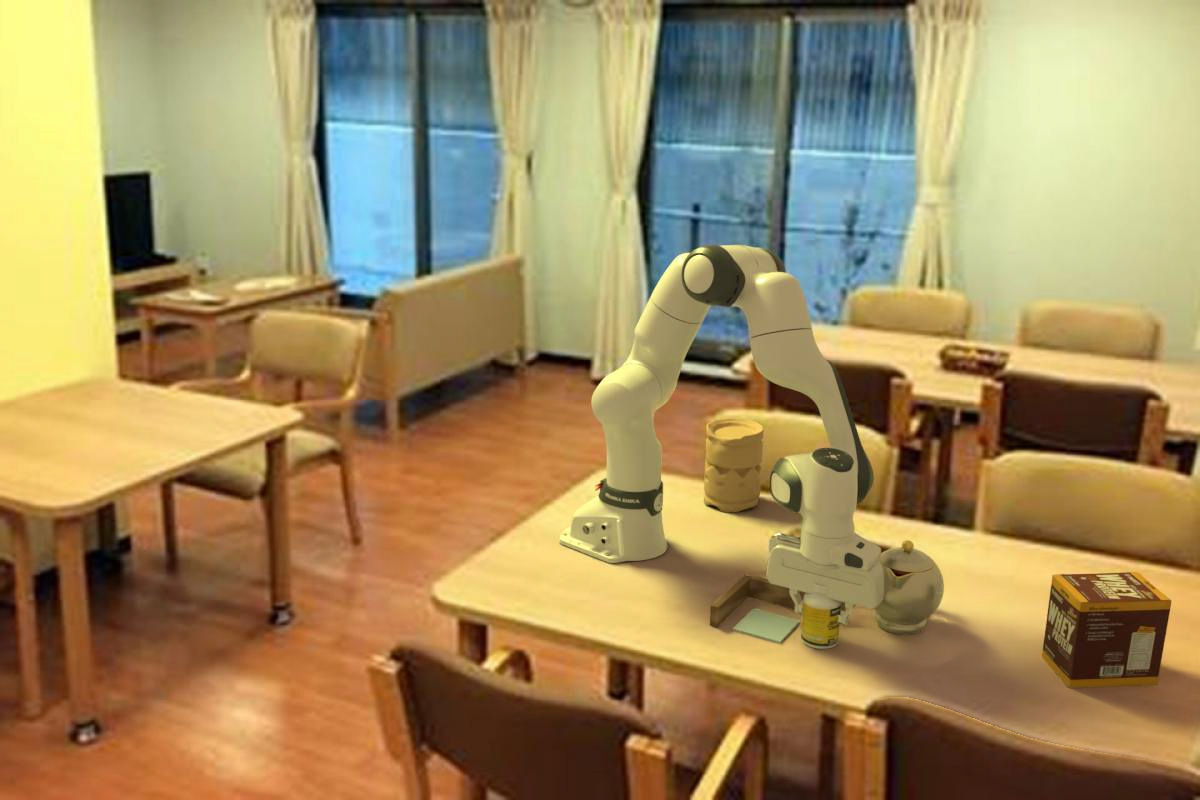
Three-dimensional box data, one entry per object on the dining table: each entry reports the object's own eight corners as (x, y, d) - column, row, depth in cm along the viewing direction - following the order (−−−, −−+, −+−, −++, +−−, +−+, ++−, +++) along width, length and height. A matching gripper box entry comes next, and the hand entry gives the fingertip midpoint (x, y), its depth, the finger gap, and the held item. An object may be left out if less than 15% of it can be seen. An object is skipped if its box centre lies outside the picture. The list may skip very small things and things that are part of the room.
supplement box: (1039, 656, 201) (1051, 573, 197) (1126, 653, 203) (1139, 570, 198) (1067, 688, 192) (1080, 601, 187) (1158, 685, 193) (1173, 599, 188)
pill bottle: (822, 654, 201) (827, 592, 198) (792, 640, 206) (796, 579, 202) (846, 642, 205) (850, 581, 202) (816, 628, 210) (820, 569, 207)
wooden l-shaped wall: (709, 625, 211) (710, 605, 209) (745, 592, 223) (746, 573, 222) (814, 655, 201) (815, 633, 200) (845, 618, 214) (846, 598, 212)
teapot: (930, 651, 202) (939, 564, 198) (852, 634, 208) (859, 549, 203) (949, 608, 218) (958, 526, 213) (876, 593, 224) (883, 513, 219)
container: (745, 517, 258) (749, 439, 253) (694, 505, 264) (696, 429, 259) (768, 498, 268) (772, 423, 263) (718, 488, 274) (721, 414, 269)
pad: (732, 630, 209) (732, 628, 209) (753, 610, 216) (753, 608, 216) (780, 643, 205) (780, 641, 204) (799, 622, 212) (799, 620, 212)
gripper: (762, 536, 203) (758, 609, 207) (878, 564, 193) (871, 639, 197) (777, 524, 208) (772, 595, 212) (890, 550, 198) (883, 624, 202)
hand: (821, 617), depth 204 cm, fingers closed on pill bottle, 6 cm apart
